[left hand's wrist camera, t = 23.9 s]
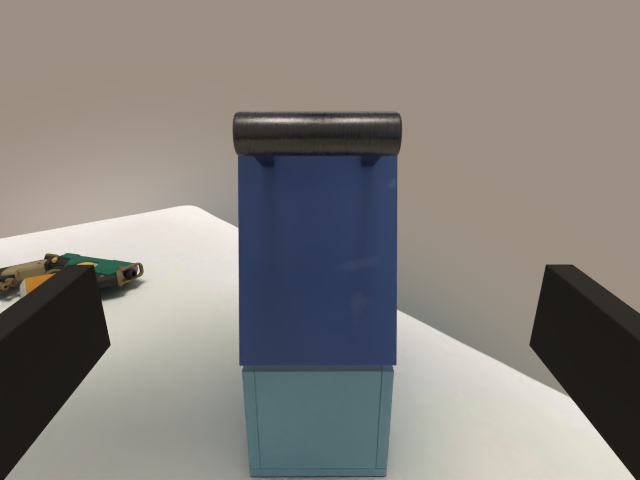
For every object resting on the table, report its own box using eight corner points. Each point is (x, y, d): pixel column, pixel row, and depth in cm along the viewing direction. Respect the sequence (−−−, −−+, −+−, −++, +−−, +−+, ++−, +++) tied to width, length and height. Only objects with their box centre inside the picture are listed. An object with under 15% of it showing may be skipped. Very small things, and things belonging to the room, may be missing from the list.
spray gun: (-24, 294, 54) (95, 261, 66) (22, 332, 44) (153, 286, 55) (-33, 263, 53) (89, 235, 64) (12, 295, 43) (148, 255, 54)
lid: (241, 116, 26) (200, 57, 17) (394, 116, 26) (434, 57, 17) (242, 359, 26) (203, 428, 17) (393, 359, 26) (431, 427, 17)
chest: (271, 353, 42) (267, 273, 39) (365, 353, 42) (368, 273, 39) (250, 477, 29) (241, 371, 26) (386, 476, 29) (394, 370, 26)
